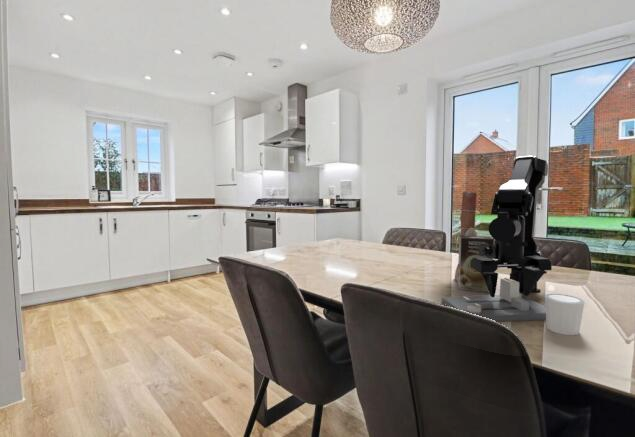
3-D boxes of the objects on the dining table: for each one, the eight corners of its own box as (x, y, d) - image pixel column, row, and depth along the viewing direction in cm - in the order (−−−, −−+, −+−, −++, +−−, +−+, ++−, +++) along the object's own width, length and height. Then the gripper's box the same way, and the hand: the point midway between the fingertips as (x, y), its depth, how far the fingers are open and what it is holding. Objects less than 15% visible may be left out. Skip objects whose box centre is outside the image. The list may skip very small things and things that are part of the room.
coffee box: (458, 289, 101) (460, 237, 100) (457, 284, 107) (458, 235, 106) (492, 292, 98) (494, 238, 97) (488, 286, 104) (490, 236, 103)
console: (518, 299, 91) (519, 287, 91) (559, 318, 77) (560, 304, 77) (441, 302, 89) (441, 289, 89) (469, 322, 76) (469, 307, 75)
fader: (508, 296, 88) (509, 277, 88) (518, 301, 84) (519, 281, 84) (499, 297, 88) (500, 278, 88) (509, 302, 84) (510, 282, 84)
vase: (477, 284, 106) (479, 191, 104) (452, 281, 110) (454, 191, 108) (479, 277, 116) (481, 191, 113) (456, 274, 119) (458, 191, 117)
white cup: (535, 324, 74) (537, 293, 74) (564, 322, 75) (565, 292, 75) (560, 337, 68) (562, 303, 67) (591, 335, 68) (593, 302, 68)
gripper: (523, 232, 94) (521, 286, 95) (460, 233, 92) (459, 288, 93) (554, 237, 82) (552, 298, 84) (483, 239, 81) (481, 301, 82)
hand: (509, 296), depth 86 cm, fingers open, 9 cm apart
